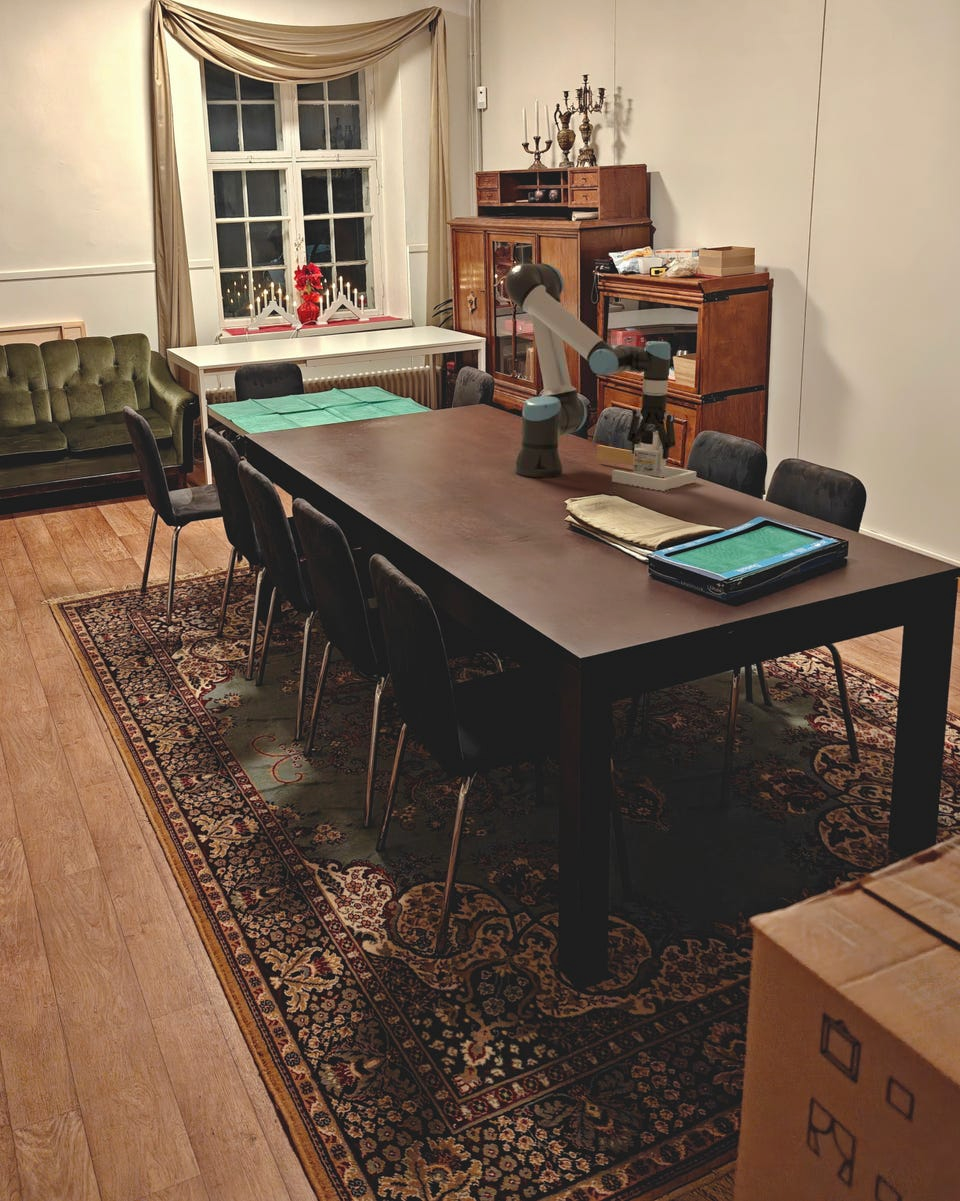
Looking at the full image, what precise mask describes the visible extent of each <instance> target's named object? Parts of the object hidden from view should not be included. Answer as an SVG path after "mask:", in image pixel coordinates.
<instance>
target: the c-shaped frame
mask: <svg viewBox="0 0 960 1201" xmlns="http://www.w3.org/2000/svg"><path fill="white" fill-rule="evenodd" d="M680 473H682V474H680ZM697 473H698V472H697V471H695V470H688V469H684V468H678V467H674V466H668V465H666V467H665V469H664V472H663V473H661V474H659V475H665V476H671V477H667V478H662V477H657V476H651V475H644V474H636V473H633V472H629V471H624V470H619V469H618V470H617V469H612V473H611V475H612V476H611V482H614V483H617V484H623V485H627V484H628V485H627V486H632V485H633V487H637V486H639V487H638V488H642V487H644V488H643V489H647V488H650V489H649V490H652V489H655V490H654V491H657V490H661V491H660V492H662V491H664V490H666V489H669V488H672V487H674V486H677V485H680V484H683V483H686V482H688V481H691V480H694V478H696V479H697ZM664 492H665V491H664Z"/></svg>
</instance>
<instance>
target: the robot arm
mask: <svg viewBox="0 0 960 1201" xmlns="http://www.w3.org/2000/svg"><path fill="white" fill-rule="evenodd" d="M564 285H565V284H564V278H563V276H562V274H561V272H560V271H559V269H557V267H555V266H554V265H551V264H548V263H543V262H541V263H540V262H538V263H520V264H517V265H515V266H513V267H512V268H511V269H510V270H509V271H508V272H507V275H506V278H505V282H504V286H505V292H506V294H507V296H508V297H509V298H510V300H511V302H513V303H514V304H515V305H517V306H518V308H520V309H521V310H522V311H524V312H525V313H526V314H529V315H530V318H531V325H532V330H533V334H534V340H535V347H536V351H537V357H538V362H539V366H540V367H539V368H540V372H541V378H542V383H543V388H544V390H543V392H542V394H541V395H540V396H534V397H531V398H528V399H526V400H525V401H524V403H523V407H522V412H521V415H522V419H521V420H522V421H521V445H520V447H521V448H520V451H519V453H518V455H517V459H516V462H515V464H514V472H515V474H516V475H521V476H523V477H524V476H525V477H532V478H554V477H559V476H561V475H563V464H562V460H561V457H560V456H561V455H560V451H559V439H560V436H565V435H571V434H573V433H575V432H577V431H579V430H580V429H581V428H582V427H583V426H584V425H585V422H586V420H587V415H588V411H587V406H586V404H585V403H584V401H583V400H582V399H581V398H580V397H578V396H579V395H578V390H577V388H576V387H574V386H573V385H572V384H571V378H570V373H569V367H568V361H567V356H566V351H565V346H564V342H565V343H566V344H568V345H569V346H570V347H571V348H572V349H573V350H575V351H576V352H577V353H578V354H579V355H580V356H581V357H583V358H584V359H585V360H586V361H587V362H588V363H589V364H588V365H589V367H590V370H591V371H592V373H594V374H596V375H598V376H611V375H613V374H617V373H618V374H619V373H624V372H632V373H633V372H634V373H635V372H637V373H643V379H642V380H643V381H642V392H643V394H642V395H641V409H633V410H632V412H631V414H632V415H631V416H632V418H631V421H630V426H629V430H628V435H627V441H628V442H631V443H632V446H631V449H632V450H631V451H632V454H634V453H635V449H636V448H638V447H641V445H640V441H641V433H642V432H643V431H646V430H647V428H648V426H649V425H654V427H655V429H656V431H658V434H659V437H660V440H661V443H662V446H661V447H662V448H660V458H659V470H662V469H665V467H666V466H667V465H666V463H667V460H668V459H669V454H670V449H671V448H673V447H676V439H675V438H676V436H675V426H674V424H675V423H674V421H675V414H672V413H668V412H667V411H666V408H667V403H668V396H667V393H668V387H669V375H670V373H669V372H670V364H671V344H670V343H669V342H667V341H659V340H657V341H656V340H650V341H649V340H648V341H646V342H645V346H642V347H641V346H631V345H625V344H615V345H614V344H613V345H609V344H608V342H606V341H604V339H603V338H602V337H600V336H599V335H598V334H597V333H596V332H594V331H593V330H592V329H590V328H589V327H588V326H587V325H586V324H585V323H583V322H582V321H581V320H580V319H578V317H576V315H574V314H573V313H571V312H570V311H569V310H568V309H567V308H566V307H565V306H563V305H562V303H561V302H562V301H561V295H562V292H563V291H564ZM641 417H642V419H641ZM640 420H641V421H640ZM664 420H665V421H664ZM639 423H640V424H639ZM638 426H639V427H638ZM633 465H634V460H633Z"/></svg>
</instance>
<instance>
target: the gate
mask: <svg viewBox="0 0 960 1201" xmlns="http://www.w3.org/2000/svg"><path fill="white" fill-rule="evenodd" d="M596 460H601V461H607V462H611V463H617V464H622V465H628V466H632V467H633V466H634V465H633V460H634V454H632V450H629V449H624V448H623V449H622V448H617V447H612V446H607V445H602V444H597V447H596Z"/></svg>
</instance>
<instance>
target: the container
mask: <svg viewBox="0 0 960 1201" xmlns="http://www.w3.org/2000/svg"><path fill="white" fill-rule="evenodd" d="M640 445H641V447H638V448H636V449H635V453H634V466H632V467H633V470H632V473H635V474H640V475H646V476H651V477H657V475H659V474H661V473H663V472H664V469H662V470H659V458H660V448H662V443H661V440H660V437H659V434H658V431H657V430H653V429H652V430H649V429H646V430H645V431H643V432H642V433H641V440H640Z"/></svg>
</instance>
